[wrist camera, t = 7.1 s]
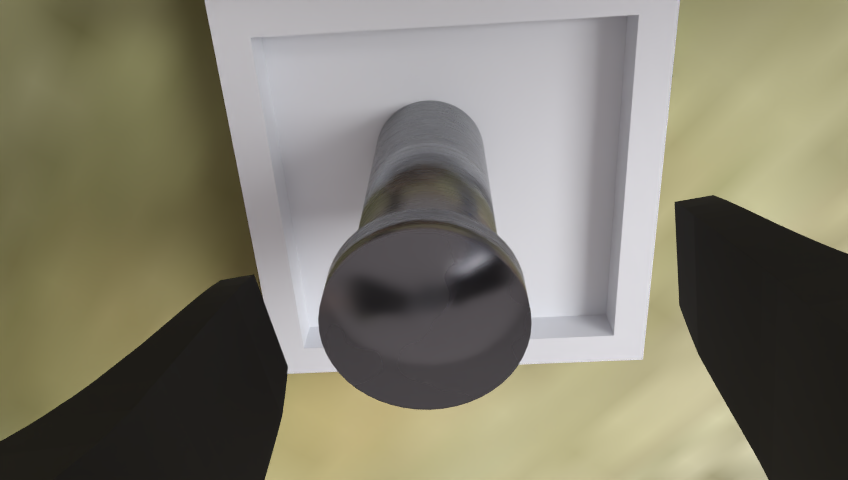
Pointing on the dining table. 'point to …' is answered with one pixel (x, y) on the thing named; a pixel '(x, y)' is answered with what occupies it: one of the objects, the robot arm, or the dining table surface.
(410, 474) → the dining table surface
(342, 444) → the dining table surface
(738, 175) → the dining table surface
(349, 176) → the tray
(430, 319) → the pin
